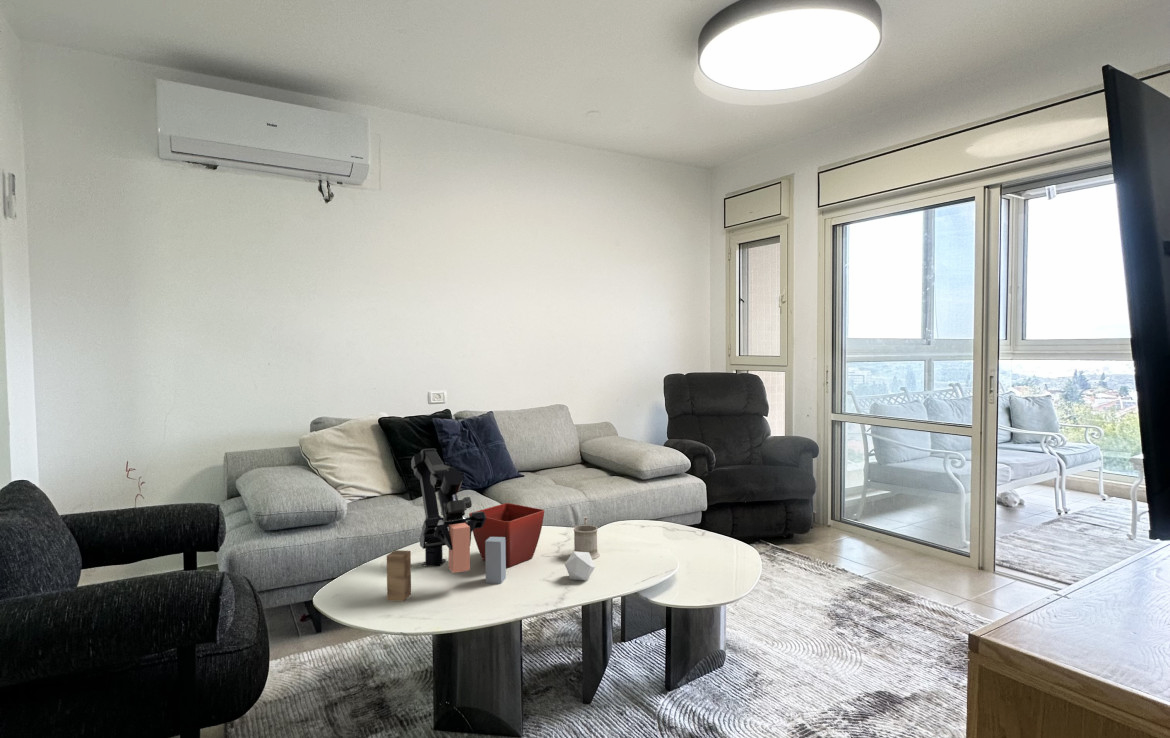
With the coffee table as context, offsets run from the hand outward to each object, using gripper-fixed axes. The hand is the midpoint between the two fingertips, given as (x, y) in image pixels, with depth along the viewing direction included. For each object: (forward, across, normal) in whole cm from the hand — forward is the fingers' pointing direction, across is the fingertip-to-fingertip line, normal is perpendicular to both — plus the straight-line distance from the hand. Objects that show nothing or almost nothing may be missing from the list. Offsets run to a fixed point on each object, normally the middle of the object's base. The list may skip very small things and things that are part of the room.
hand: (460, 548), depth 180 cm
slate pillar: (+6, +13, +12) cm, 19 cm away
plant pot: (-5, +23, +25) cm, 34 cm away
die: (+15, +36, +4) cm, 39 cm away
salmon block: (+4, 0, +6) cm, 7 cm away
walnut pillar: (+6, -17, +14) cm, 22 cm away
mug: (0, +50, +19) cm, 53 cm away
